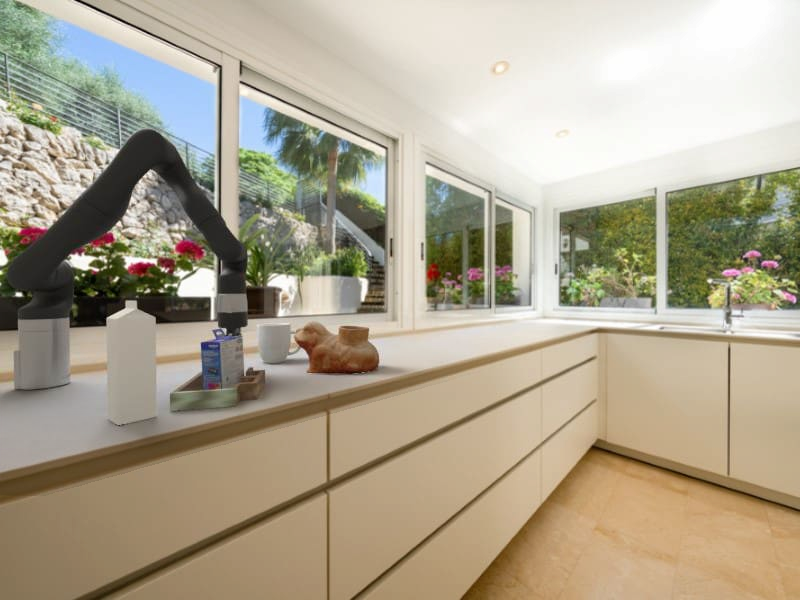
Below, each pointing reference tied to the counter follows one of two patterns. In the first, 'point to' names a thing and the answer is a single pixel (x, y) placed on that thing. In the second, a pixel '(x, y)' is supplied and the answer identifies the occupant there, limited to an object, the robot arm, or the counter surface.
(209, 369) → the ink cartridge box
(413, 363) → the counter surface
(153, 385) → the milk
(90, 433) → the counter surface
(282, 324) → the mug
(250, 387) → the wooden compartment tray
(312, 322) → the ceramic vessel
